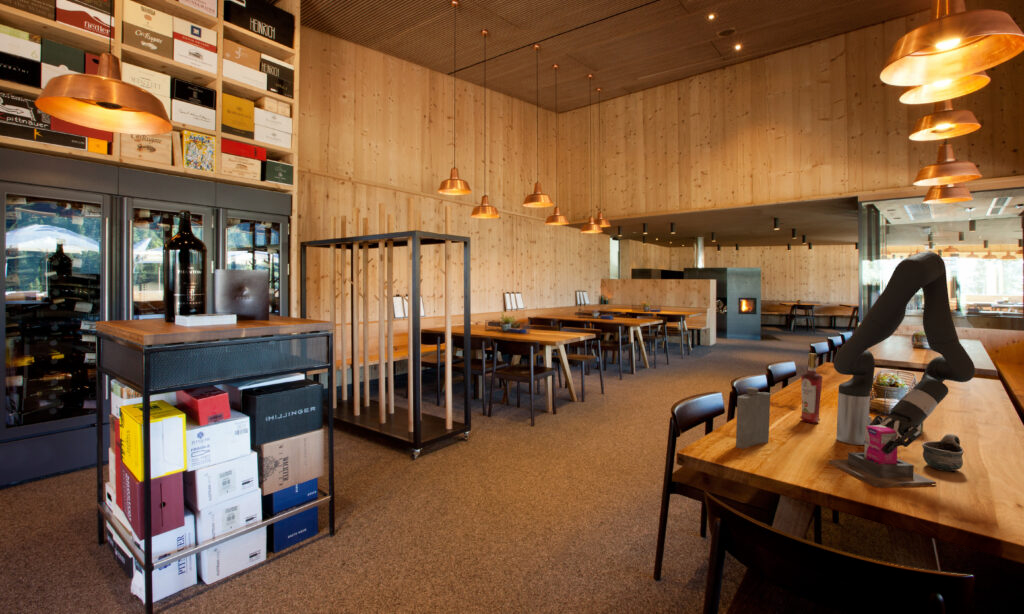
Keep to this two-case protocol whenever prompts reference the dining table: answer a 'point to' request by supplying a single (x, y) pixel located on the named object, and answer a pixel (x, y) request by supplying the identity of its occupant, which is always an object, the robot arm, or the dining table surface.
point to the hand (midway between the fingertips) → (875, 448)
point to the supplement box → (879, 444)
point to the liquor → (811, 392)
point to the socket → (881, 471)
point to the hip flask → (752, 418)
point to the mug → (944, 453)
